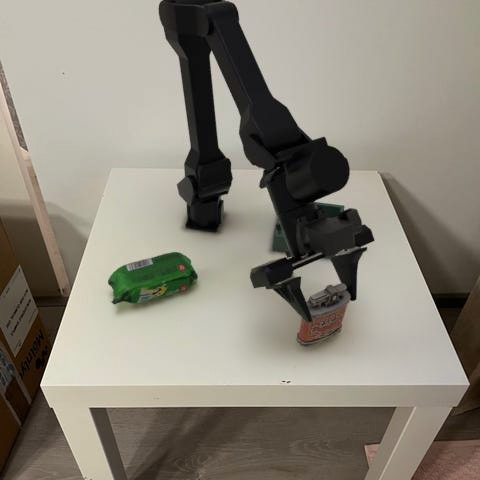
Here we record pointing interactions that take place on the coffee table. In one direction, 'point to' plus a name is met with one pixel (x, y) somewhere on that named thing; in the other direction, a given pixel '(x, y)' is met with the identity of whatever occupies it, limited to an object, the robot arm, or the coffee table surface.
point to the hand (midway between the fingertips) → (331, 311)
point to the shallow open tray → (279, 238)
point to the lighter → (324, 315)
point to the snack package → (152, 278)
